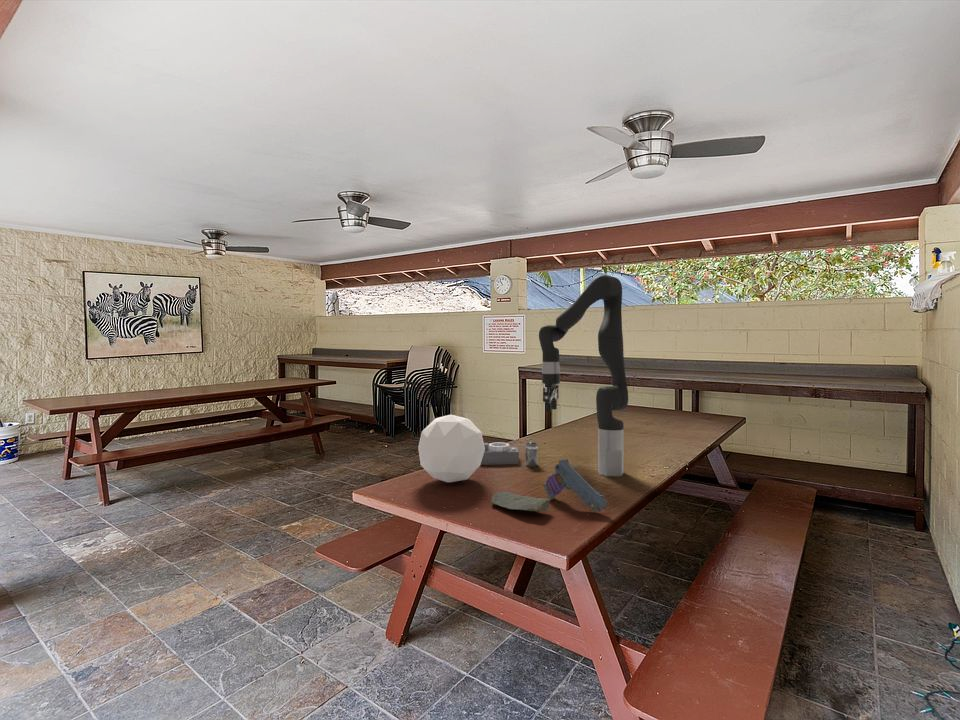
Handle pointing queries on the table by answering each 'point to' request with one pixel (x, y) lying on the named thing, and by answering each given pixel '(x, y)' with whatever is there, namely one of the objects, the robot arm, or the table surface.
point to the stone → (520, 502)
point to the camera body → (500, 454)
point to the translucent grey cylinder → (531, 454)
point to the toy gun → (573, 486)
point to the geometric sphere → (451, 448)
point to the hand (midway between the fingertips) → (551, 410)
